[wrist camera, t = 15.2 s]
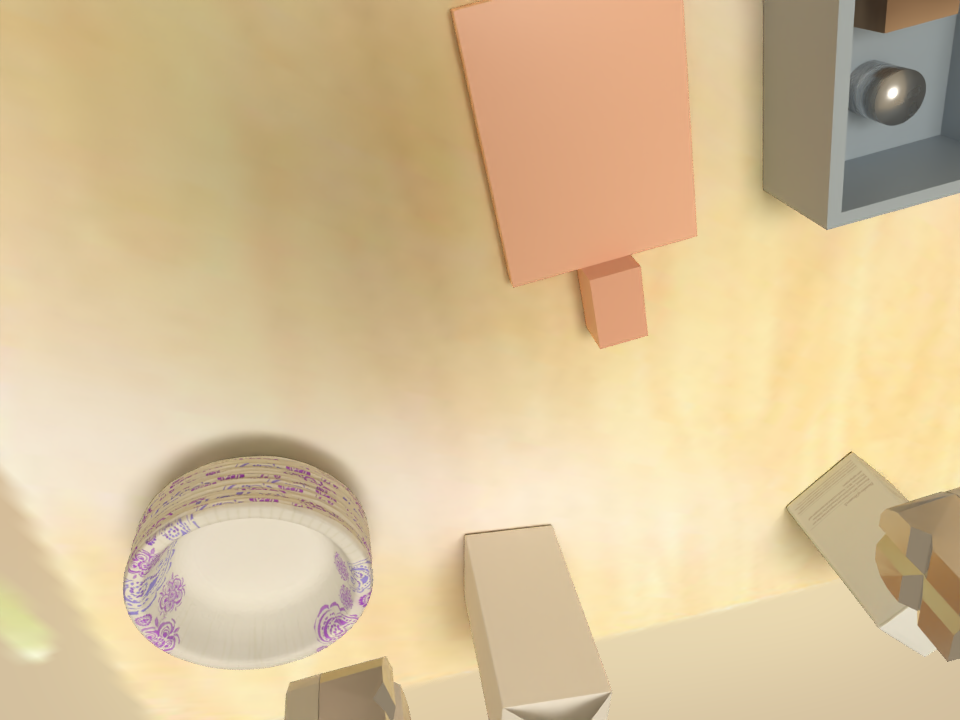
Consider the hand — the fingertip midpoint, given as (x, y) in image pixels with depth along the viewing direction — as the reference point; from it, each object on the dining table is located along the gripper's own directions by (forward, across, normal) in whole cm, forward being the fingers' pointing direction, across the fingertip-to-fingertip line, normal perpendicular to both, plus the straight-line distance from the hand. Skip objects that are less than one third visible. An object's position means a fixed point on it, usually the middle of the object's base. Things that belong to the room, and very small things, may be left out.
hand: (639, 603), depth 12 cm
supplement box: (+34, -27, +40) cm, 59 cm away
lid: (+34, -9, +6) cm, 36 cm away
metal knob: (+33, -26, +5) cm, 42 cm away
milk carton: (+34, +2, +36) cm, 50 cm away
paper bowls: (+34, +18, +24) cm, 45 cm away
